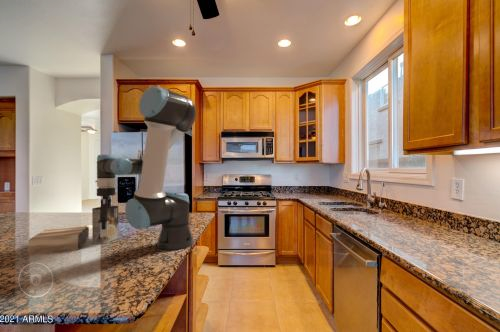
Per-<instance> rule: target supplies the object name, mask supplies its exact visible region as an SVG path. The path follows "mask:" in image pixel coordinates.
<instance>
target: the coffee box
mask: <svg viewBox="0 0 500 332" xmlns="http://www.w3.org/2000/svg"><path fill="white" fill-rule="evenodd" d="M100 210H101V206H98V207H93V208H92V209H91V211H92V212H91V213H92V215H91V216H92V218H91V219H92V221H91V223H92V224H91V225H92V228H91V229H92V233H91V235H92V237H91V238H92V239H91V240H92V242H91V243H92V244H96V245H97V244H98V245H99V244H100V245H105V244H108V243H109V242H112V241H116V240H117V239H119V205H111V206H110V208H108V216H107V221H108V229H107V236H105V237H100V222H98V220H100Z"/></svg>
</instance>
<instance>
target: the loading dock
mask: <svg viewBox="0 0 500 332" xmlns="http://www.w3.org/2000/svg"><path fill="white" fill-rule="evenodd" d="M89 231H90V227H89V226H87V225H83V226H72V227H61V228H60V227H59V228H50V229H44V230H42V231H41V232H39V233H37V234H35V235H34V236H31V238H29V239H28V243H27V245H28V247H27V248H28V249H27V253H28V254H27V255H28V256H33V255H34V256H35V255H40V254H41V255H42V254H50V253H60V252H66V251H67V252H68V251H74V250H76V251H77V250H79V249H81V248H82V247H83V246H84V244H85V243H86V241H87V240H88V239H89V234H90V233H89Z"/></svg>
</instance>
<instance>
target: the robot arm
mask: <svg viewBox="0 0 500 332" xmlns="http://www.w3.org/2000/svg"><path fill="white" fill-rule="evenodd" d="M138 108H139V113H140V115H141V116H143V117H144V120H143V123H145V125H146V126H147V129H146V139H145V143H144V144H145V146H144V152H143V154H142V156H141V157H139V158H126V157H117V158H116V155H114V154H106V153H105V154H98V155H97V157H96V180H95V181H94V182H95V183H96V187H97V188H96V196H97V197H101V199H100V207H101V210H100V220H98V222H100V237H105V236H107V229H108V221H107V216H108V208H110V206H112V196H115V195H116V187H115V186H116V182H117V181H116V176H128V175H136V176H137V175H140V182H139V188H138V189H136V190H135V191H134V193H133V198H131V199H129V200H127V202H126V203H125V208H124V211H125V216H126V220H127V221H128V223H129V225H130V226H131V227H132V228H134V229H137V230H140V229H148V228H150V227H151V228H152V227H156V226H160V225H161V229H160V232H159V235H158V237H157V238H158V239H157V241H156V243H157V244H156V247H157V248H158V249H160V250H166V251H167V250H168V251H171V250H172V251H173V250H174V251H175V250H180V249H185V248H189V247H191V246H192V245H193V244H194V237H193V233H192V231H191V229H190V199H189V197H190V196H189V195H188V194H187V193H181V192H169V191H167V192H166V191H164V185H165V177H166V170H167V164H168V158H169V151H170V149H171V148H172V146H173V145H175V143H176V142H177V141H178V139H179V138H181V136H182V135H183V133H184V134H185V133H188V132H189V131H190V129H191V128H192V127H193V126H194V124H195V121H196V118H197V108H196V105H195V103H194V101H193V100H192V99H191V98H189V97H188V96H186V95H184V94H180V93H178V92H175V91H172V90H170V89H167V88H165V87H160V86H155V85H154V86H150V87H148V88H147V89H146V90H145V91H143V93H142V94H141V96H140V99H139V104H138Z"/></svg>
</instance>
